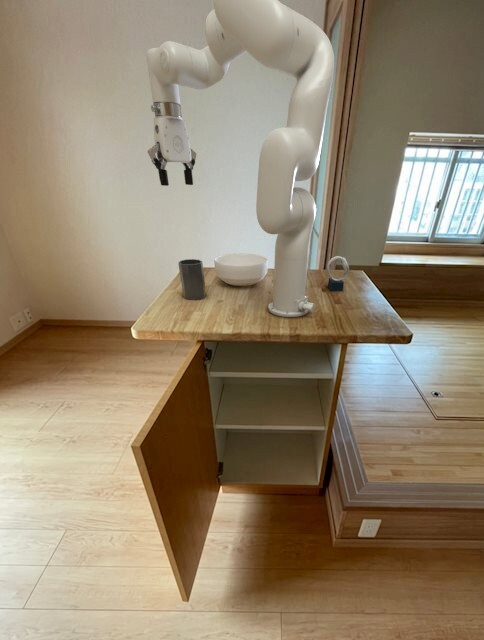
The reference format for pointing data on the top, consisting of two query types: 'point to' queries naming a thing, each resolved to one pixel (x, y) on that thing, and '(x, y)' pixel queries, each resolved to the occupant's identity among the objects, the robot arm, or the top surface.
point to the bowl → (241, 268)
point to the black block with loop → (337, 283)
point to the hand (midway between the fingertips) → (177, 185)
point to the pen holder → (192, 279)
